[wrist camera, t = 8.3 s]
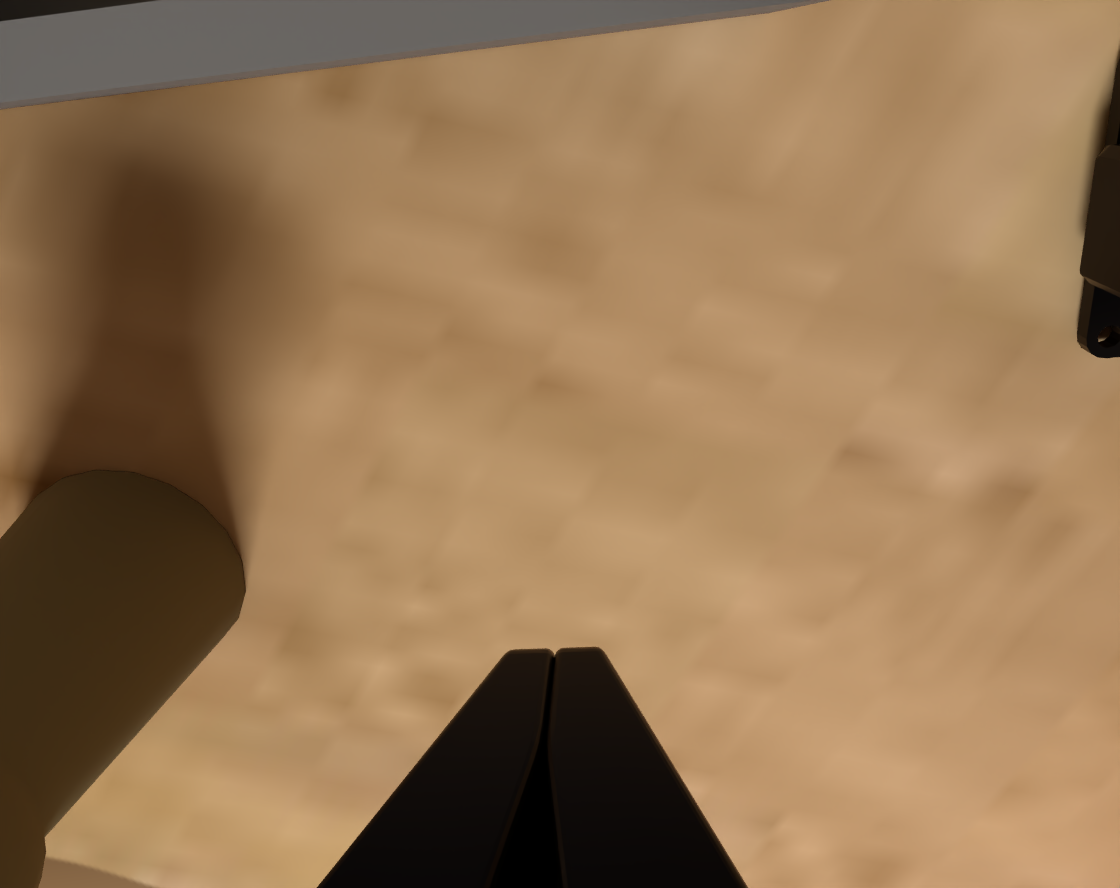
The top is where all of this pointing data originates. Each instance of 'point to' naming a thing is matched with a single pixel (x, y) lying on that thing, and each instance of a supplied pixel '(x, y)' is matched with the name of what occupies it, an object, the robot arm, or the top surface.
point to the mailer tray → (287, 36)
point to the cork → (97, 637)
